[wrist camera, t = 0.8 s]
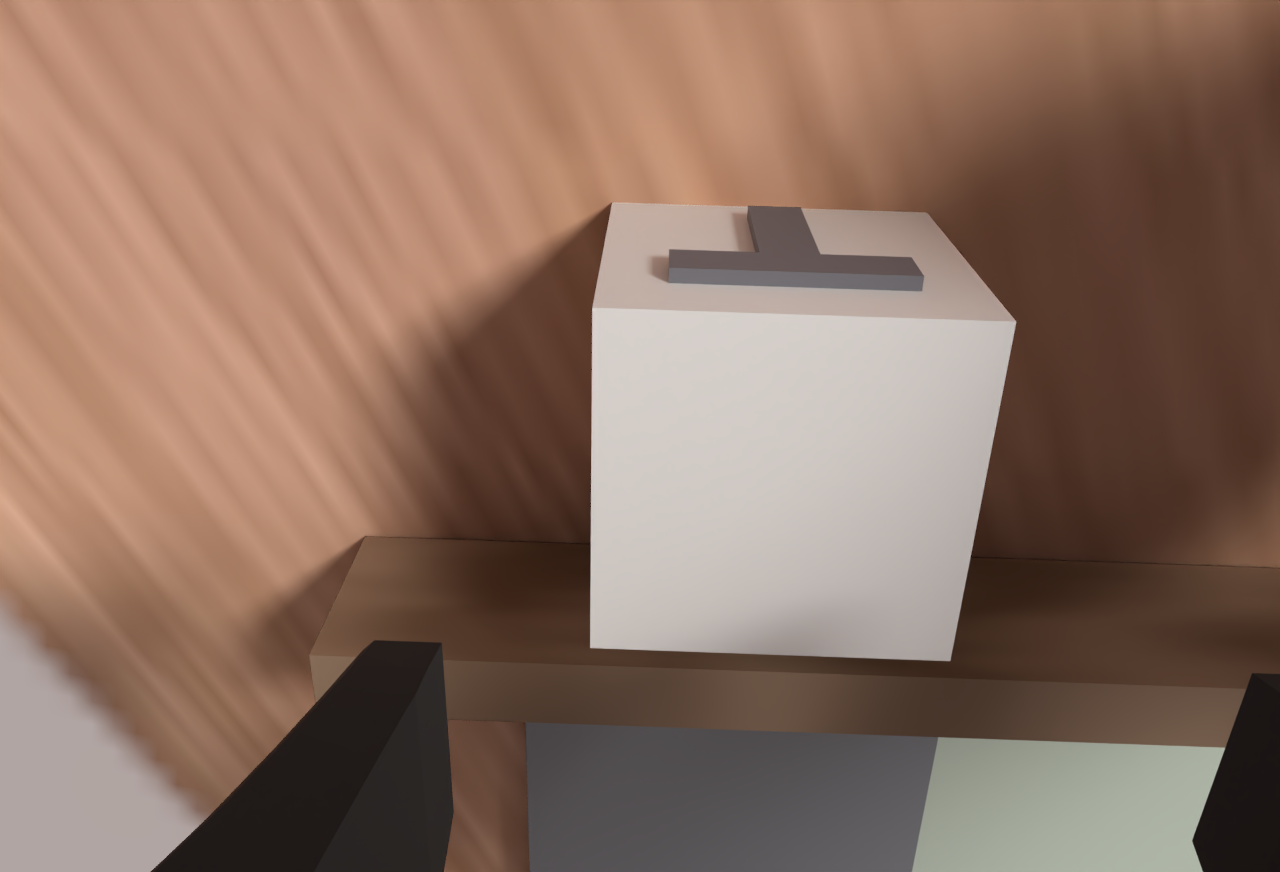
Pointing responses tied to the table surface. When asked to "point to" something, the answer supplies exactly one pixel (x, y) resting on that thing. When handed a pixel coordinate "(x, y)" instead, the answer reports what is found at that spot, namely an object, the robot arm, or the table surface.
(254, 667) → the table surface
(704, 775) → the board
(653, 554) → the lettered cube
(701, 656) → the walnut block
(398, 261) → the table surface
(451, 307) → the table surface
